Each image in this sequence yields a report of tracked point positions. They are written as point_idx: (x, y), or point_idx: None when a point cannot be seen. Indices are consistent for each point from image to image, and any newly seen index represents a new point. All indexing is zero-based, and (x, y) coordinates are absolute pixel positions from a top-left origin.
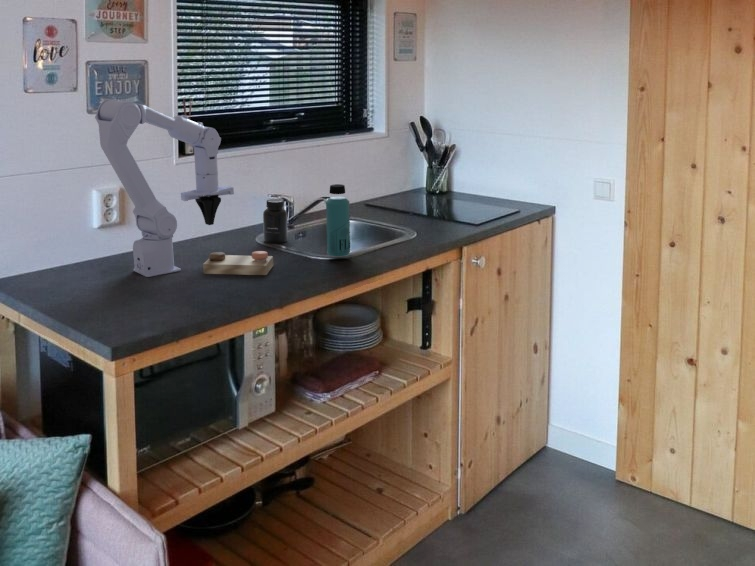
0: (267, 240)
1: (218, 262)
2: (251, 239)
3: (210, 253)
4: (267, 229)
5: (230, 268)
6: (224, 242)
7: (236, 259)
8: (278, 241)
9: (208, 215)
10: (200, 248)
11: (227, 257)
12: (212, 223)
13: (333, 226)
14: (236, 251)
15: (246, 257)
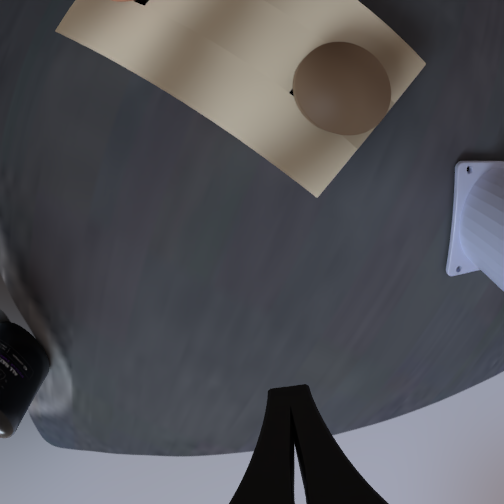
0: (37, 348)
1: (353, 35)
2: (83, 394)
3: (373, 124)
4: (19, 371)
5: None
6: (160, 410)
7: (240, 33)
8: (11, 325)
9: (332, 441)
10: (251, 396)
11: (269, 96)
12: (280, 393)
13: None
14: (144, 317)
15: (172, 48)
